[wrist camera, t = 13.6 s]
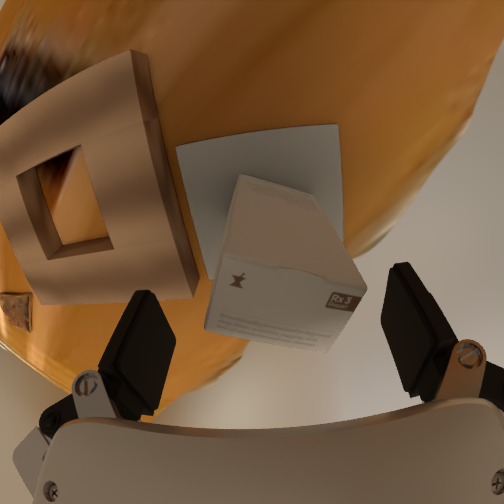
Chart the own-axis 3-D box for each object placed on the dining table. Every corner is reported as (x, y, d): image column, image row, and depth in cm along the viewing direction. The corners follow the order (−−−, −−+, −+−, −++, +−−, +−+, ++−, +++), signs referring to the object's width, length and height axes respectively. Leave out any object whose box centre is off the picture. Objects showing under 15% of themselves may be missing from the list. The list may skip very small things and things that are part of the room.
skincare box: (226, 221, 22) (194, 337, 12) (240, 168, 20) (213, 251, 9) (299, 241, 23) (325, 361, 12) (318, 191, 20) (372, 290, 10)
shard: (34, 289, 29) (27, 297, 27) (58, 330, 32) (53, 339, 31) (-1, 289, 30) (-7, 296, 28) (21, 325, 33) (16, 332, 32)
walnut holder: (-3, 137, 18) (-21, 144, 15) (146, 54, 16) (130, 49, 13) (53, 289, 28) (41, 304, 25) (199, 277, 25) (193, 298, 23)
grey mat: (176, 145, 19) (175, 146, 19) (336, 123, 18) (337, 124, 18) (210, 276, 25) (209, 280, 25) (341, 261, 24) (342, 264, 24)
